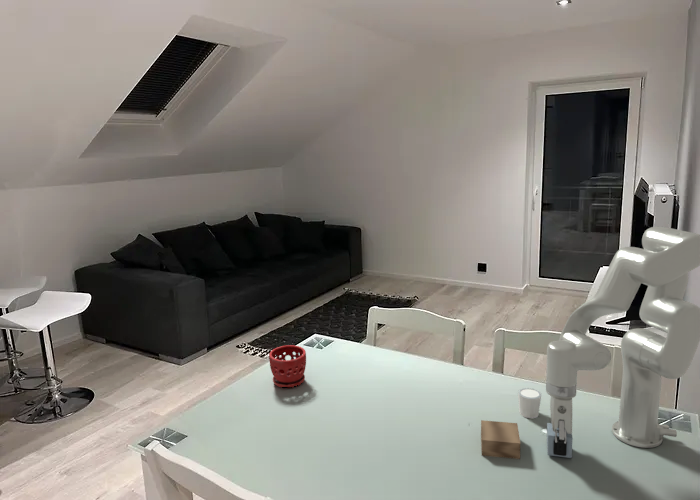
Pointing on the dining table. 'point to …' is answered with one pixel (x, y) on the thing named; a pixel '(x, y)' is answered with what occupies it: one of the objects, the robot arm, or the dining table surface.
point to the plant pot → (288, 366)
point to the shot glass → (529, 402)
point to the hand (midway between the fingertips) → (558, 446)
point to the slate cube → (552, 437)
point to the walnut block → (500, 439)
